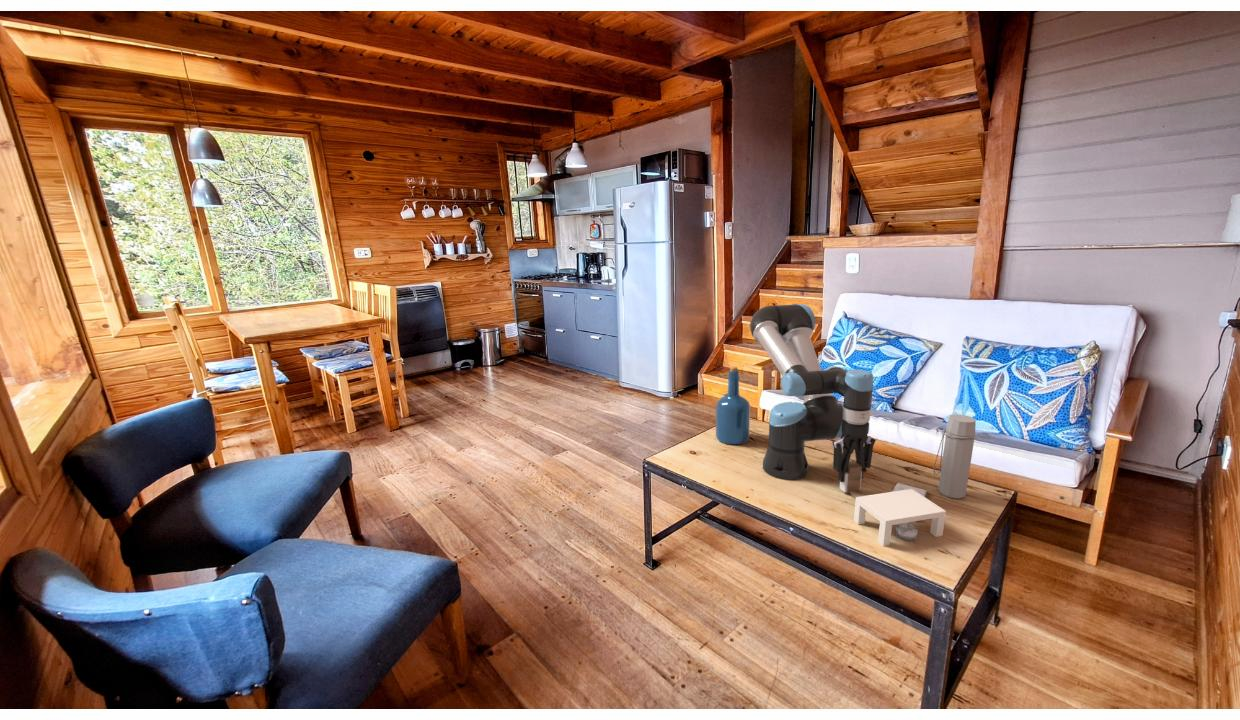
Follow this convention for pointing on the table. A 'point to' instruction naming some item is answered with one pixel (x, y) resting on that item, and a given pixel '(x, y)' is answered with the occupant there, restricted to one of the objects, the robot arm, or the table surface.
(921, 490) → the external hard drive
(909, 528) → the steel puck
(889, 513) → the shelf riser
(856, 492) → the walnut paddle
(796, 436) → the robot arm
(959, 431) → the water bottle
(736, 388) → the wine bottle
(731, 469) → the table surface
